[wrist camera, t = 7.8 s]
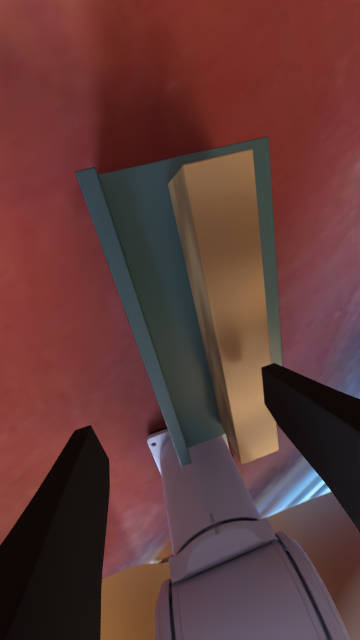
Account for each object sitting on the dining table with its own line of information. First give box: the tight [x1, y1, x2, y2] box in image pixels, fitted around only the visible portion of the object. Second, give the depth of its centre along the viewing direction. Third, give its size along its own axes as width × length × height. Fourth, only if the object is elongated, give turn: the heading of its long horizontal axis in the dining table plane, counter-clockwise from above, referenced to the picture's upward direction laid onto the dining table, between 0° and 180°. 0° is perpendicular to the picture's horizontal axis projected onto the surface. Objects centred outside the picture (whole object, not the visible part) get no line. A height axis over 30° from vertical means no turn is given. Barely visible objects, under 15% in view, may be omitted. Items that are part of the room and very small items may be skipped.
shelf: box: [75, 137, 283, 467], centre depth 16 cm, size 18×9×7 cm, turn 14°
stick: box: [168, 149, 279, 465], centre depth 12 cm, size 16×3×3 cm, turn 14°
